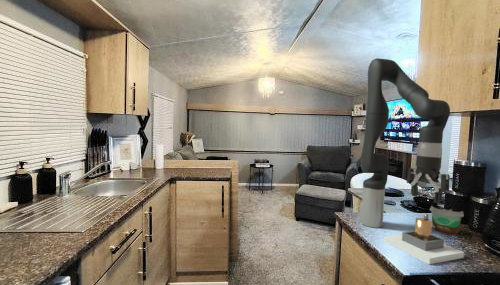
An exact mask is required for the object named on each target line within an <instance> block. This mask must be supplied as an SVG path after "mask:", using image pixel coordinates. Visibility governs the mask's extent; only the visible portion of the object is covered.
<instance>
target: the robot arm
mask: <svg viewBox="0 0 500 285" xmlns="http://www.w3.org/2000/svg"><path fill="white" fill-rule="evenodd" d="M384 81H385V82H386V81H387V82H389V83H392V84H393V85H394V86H396V88H397V89H396V90H397V92H398V94H399V96H400V97H401V98H402V99H403V100H404V101H406V102H407V103H408V104H409V105H410V107H411V108H412V110H413V112H414V113H415V114H416V115H417V116H418V117H419V118H421V119H423V120H424V119H425V120H429V121H428V122H427V123H428V124H427V125H425V126H421V127H420V129H419V133H418V135H419V136H418V144H417V149H416V159H415V160H416V161H415V162H416V163H415V166H416V168H415V167H409V168H408V169H407V175H406V176H407V177H406V183H407V184H409V185H410V186H411V189H410V194H411V197H418V195H419V194H418V192H419V184H421V183H426V184H430V185H431V186H432V187H433V189H434V190H435V192H434V195H433V202H434V203H437V204H438V203H441V202H442V199H443V193H444V192H446V193H447V192H449V191H450V174H448V173H441V169H442V160H443V159H442V156H443V137H444V130H445V128H446V126H447V124H448V121H449V118H450V114H451V108H450V105H449V104H448V103H449V102H446V101H445V100H441V99H431V98H429V97H430V95H429V93H428V91H427V90H426V89H424V88H423V87H422V86H421V85H419V84H418V83H417V82H415V81H414V80H413V79H412V78H410V76H408V75H407V73H406V72H405V71H404V70H403V69H402V68H401V67H400V65H399V64H398V63H397V62H396V61H394V60H392V59H385V58H374V59H372V60H371V62H370V63H369V65H368V69H367V105H366V113H365V114H366V115H365V127H364V138H363V143H362V150H361V155H360V168H361V171H362V172H363V173H366V174H372V176H371V177H369V178H367V179H364V180H363V182H362V198H361V200H362V201H360V204H359V218H358V221H359V222H360V223H361V224H362V225H363V226H366V227H370V228H375V229H377V228H382V227H383V224H384V213H385V212H384V210H385V195H386V185H387V182H388V177H389V176H388V175H389V168H390V162H389V157H388V155H387V154H385V153H382V152H381V153H380V152H378V153H377V152H375V149H376V144H377V142H378V140H379V139H380V137H381V136H382V134H383V133H384V132H385V131H386V129H387V127H388V124H389V114H390V110H389V109H390V108H389V106H388V103H387V101H386V99H385V97H384V94H383V89H382V88H383V87H382V84H383V83H382V82H384Z"/></svg>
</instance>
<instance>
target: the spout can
mask: <svg viewBox="0 0 500 285" xmlns="http://www.w3.org/2000/svg"><path fill="white" fill-rule="evenodd" d="M414 226H415V227H414V231H415V237H416V238H418V239H420V240H423V241H425V242H426V241H431V235H432V230H433V228H432V219H429V214H428V213H424V214H423V217H415V224H414Z"/></svg>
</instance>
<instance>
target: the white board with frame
mask: <svg viewBox="0 0 500 285" xmlns="http://www.w3.org/2000/svg"><path fill="white" fill-rule="evenodd" d="M401 233H402V234H394V235H388V236H387V235H386V236H384V238H383V239H384V240H383V242H384V243H385V244H388V245H390V246H392V247H394V248H396V249H398V250H399V251H402V252H404V253H406V254H408V255H409V256H412V257H414V258H416V259H418V260H420V261H421V262H423V263H426V264H428V265H434V264H437V263H443V262H450V261H453V260H458V259H459V260H460V259H464V256H465V252H464V251H462V250H460V249H457V248H456V247H452V246H450V245H447V244H445V243H444V242H445V239H443V238H441V237H438V236H436V235H433V234H431V241H426V242H425V241H423V240H420V239H418V238H416V237H415V230H413V231H405V232H401Z"/></svg>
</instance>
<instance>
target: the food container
mask: <svg viewBox="0 0 500 285" xmlns="http://www.w3.org/2000/svg"><path fill="white" fill-rule="evenodd" d="M429 211H430V212H431V221H432V230H434V231H437V232H439V233H442V234H447V235H457V234H458V235H459V230H460V226H461V221H462V218H464V215H465V213H464V211H463V210H462V211H455V210H454V211H453V210H450V209H447V208H446V209H445V208H444V209H443V208H436V207H434V206H433V205H431V206H430V208H429Z"/></svg>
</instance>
